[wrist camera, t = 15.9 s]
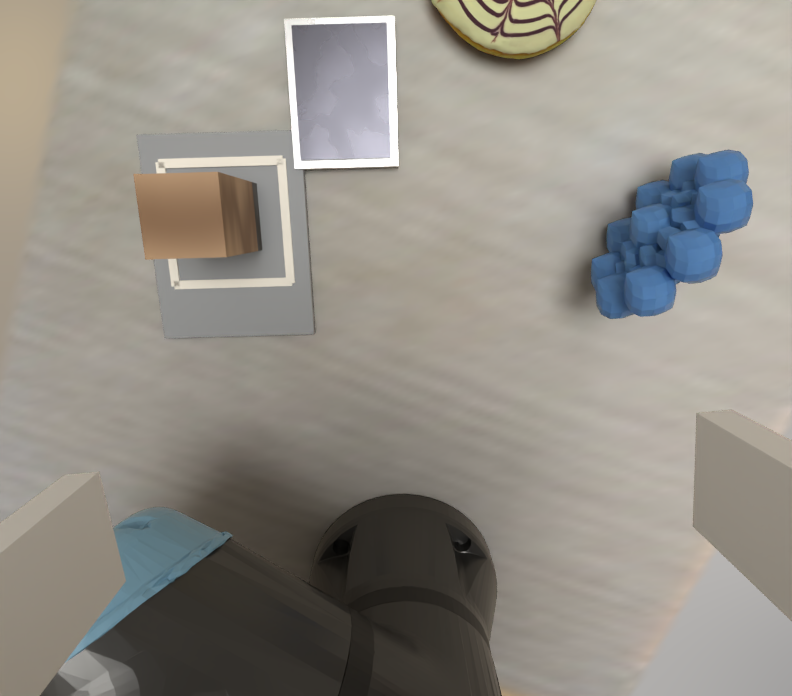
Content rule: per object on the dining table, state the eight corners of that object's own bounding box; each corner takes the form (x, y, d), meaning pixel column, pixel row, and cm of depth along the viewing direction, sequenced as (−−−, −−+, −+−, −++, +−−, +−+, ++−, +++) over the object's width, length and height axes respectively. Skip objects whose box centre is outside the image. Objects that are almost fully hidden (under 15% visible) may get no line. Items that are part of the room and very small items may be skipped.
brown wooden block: (262, 250, 36) (226, 257, 28) (198, 252, 36) (145, 259, 28) (256, 183, 35) (217, 171, 27) (190, 185, 35) (133, 174, 27)
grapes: (613, 333, 38) (709, 381, 27) (542, 281, 37) (610, 308, 26) (720, 199, 36) (876, 188, 24) (647, 141, 35) (774, 101, 23)
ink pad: (398, 167, 35) (398, 165, 34) (297, 170, 35) (293, 168, 34) (394, 21, 33) (394, 13, 32) (287, 24, 33) (282, 16, 32)
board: (315, 332, 38) (313, 334, 37) (167, 336, 38) (163, 339, 37) (301, 131, 35) (299, 129, 34) (140, 136, 35) (135, 134, 34)
